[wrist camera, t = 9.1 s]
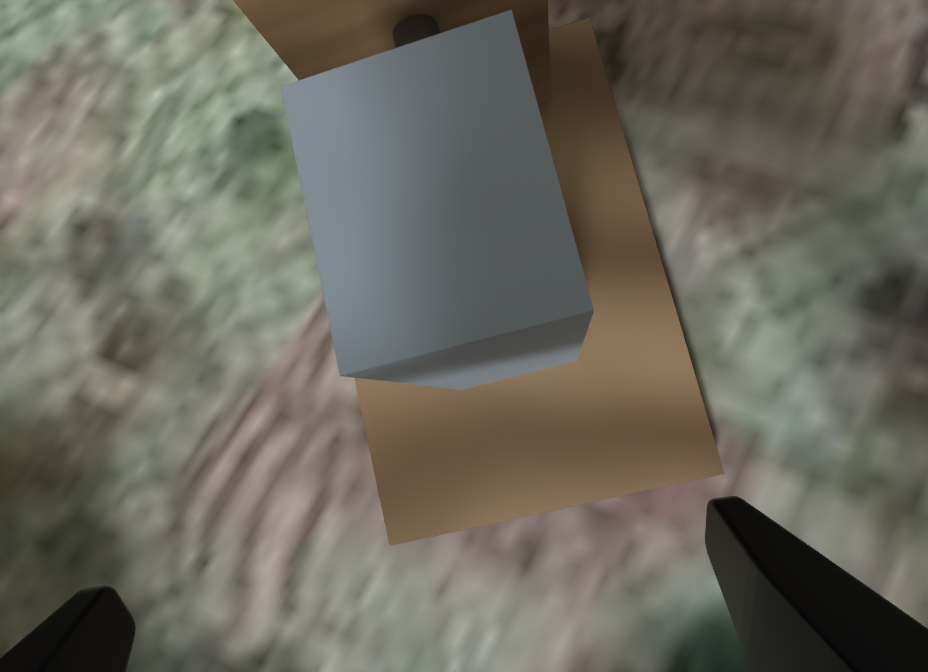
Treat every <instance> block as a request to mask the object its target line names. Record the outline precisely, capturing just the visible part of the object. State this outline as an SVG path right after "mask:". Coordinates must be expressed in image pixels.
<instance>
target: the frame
mask: <svg viewBox="0 0 928 672" xmlns="http://www.w3.org/2000/svg"><path fill="white" fill-rule="evenodd" d="M233 1H234V2H235V3H236V4H237V6H238V7H239V8H240V9H241V10H242V12H243V13H244V14H245V15H246V16H247V18H248V19H249V20H250V21H251V23H252V24H253V25H254V26H255V27H256V29H257V30H258V31H259V32H260V34H261V35H262V36H263V37H264V38H265V40H266V41H267V42H268V43H269V44H270V46H271V47H272V48H273V49H274V51H275V52H276V53H277V54H278V55H279V57H280V58H281V59H282V60H283V61H284V63H285V64H286V65H287V66H288V68H289V69H290V70H291V71H292V72H293V74H294V75H295V76H296V77H297V78H298V80H302V79H305V78H308V77H311V76H314V75H317V74H320V73H323V72H326V71H329V70H332V69H335V68H338V67H341V66H344V65H347V64H350V63H353V62H356V61H359V60H362V59H365V58H368V57H371V56H374V55H377V54H380V53H383V52H386V51H389V50H392V49H395V48H398V47H401V46H404V45H407V44H410V43H413V42H416V41H419V40H422V39H425V38H428V37H431V36H434V35H437V34H440V33H443V32H446V31H449V30H452V29H455V28H458V27H461V26H464V25H467V24H470V23H473V22H476V21H479V20H482V19H485V18H488V17H491V16H494V15H497V14H500V13H503V12H506V11H509V10H512V13H513V17H514V20H515V24H516V28H517V31H518V35H519V39H520V42H521V46H522V50H523V53H524V57H525V60H526V64H527V68H528V71H529V75H530V79H531V82H532V86H533V90H534V93H535V97H536V101H537V104H538V108H539V112H540V115H541V119H542V122H543V126H544V130H545V133H546V137H547V141H548V144H549V148H550V152H551V155H552V159H553V163H554V166H555V170H556V173H557V177H558V181H559V184H560V188H561V192H562V195H563V199H564V203H565V206H566V210H567V214H568V217H569V221H570V225H571V228H572V232H573V235H574V239H575V243H576V246H577V250H578V254H579V257H580V261H581V265H582V268H583V272H584V276H585V279H586V283H587V286H588V290H589V294H590V297H591V301H592V305H593V308H594V312H593V315H592V318H591V321H590V324H589V327H588V330H587V333H586V336H585V339H584V342H583V345H582V348H581V351H580V354H579V357H578V360H577V361H575V362H571V363H567V364H563V365H559V366H555V367H551V368H547V369H543V370H539V371H535V372H531V373H527V374H523V375H518V376H514V377H510V378H506V379H502V380H498V381H494V382H490V383H486V384H482V385H478V386H474V387H470V388H466V389H462V390H457V389H449V388H440V387H431V386H423V385H414V384H406V383H397V382H388V381H380V380H371V379H362V378H355V382H356V387H357V392H358V396H359V401H360V406H361V411H362V415H363V420H364V425H365V430H366V434H367V439H368V444H369V449H370V454H371V458H372V463H373V468H374V473H375V477H376V482H377V487H378V492H379V497H380V501H381V506H382V511H383V516H384V520H385V525H386V530H387V535H388V540H389V544H390V546H391V545H395V544H400V543H405V542H409V541H414V540H419V539H423V538H428V537H433V536H437V535H442V534H447V533H451V532H456V531H460V530H465V529H470V528H474V527H479V526H484V525H488V524H493V523H498V522H502V521H507V520H512V519H516V518H521V517H526V516H530V515H535V514H539V513H544V512H549V511H553V510H558V509H563V508H567V507H572V506H577V505H581V504H586V503H591V502H595V501H600V500H605V499H609V498H614V497H618V496H623V495H628V494H632V493H637V492H642V491H646V490H651V489H656V488H660V487H665V486H670V485H674V484H679V483H684V482H688V481H693V480H697V479H702V478H707V477H711V476H716V475H721V474H724V471H723V467H722V464H721V461H720V457H719V454H718V450H717V447H716V444H715V440H714V437H713V433H712V430H711V427H710V423H709V420H708V417H707V413H706V410H705V406H704V403H703V400H702V396H701V393H700V389H699V386H698V383H697V379H696V376H695V373H694V369H693V366H692V362H691V359H690V356H689V352H688V349H687V346H686V342H685V339H684V335H683V332H682V329H681V325H680V322H679V318H678V315H677V312H676V308H675V305H674V302H673V298H672V295H671V291H670V288H669V285H668V281H667V278H666V274H665V271H664V268H663V264H662V261H661V258H660V254H659V251H658V247H657V244H656V241H655V237H654V234H653V231H652V227H651V224H650V220H649V217H648V214H647V210H646V207H645V203H644V200H643V197H642V193H641V190H640V187H639V183H638V180H637V176H636V173H635V170H634V166H633V163H632V159H631V156H630V153H629V149H628V146H627V143H626V139H625V136H624V132H623V129H622V126H621V122H620V119H619V116H618V112H617V109H616V105H615V102H614V99H613V95H612V92H611V88H610V85H609V82H608V78H607V75H606V72H605V68H604V65H603V61H602V58H601V55H600V51H599V48H598V45H597V41H596V38H595V34H594V31H593V28H592V24H591V21H590V17H589V18H585V19H582V20H579V21H576V22H573V23H570V24H567V25H564V26H561V27H558V28H555V29H552V30H549V27H548V3H547V0H233Z"/></svg>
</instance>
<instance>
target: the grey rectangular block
mask: <svg viewBox="0 0 928 672" xmlns="http://www.w3.org/2000/svg"><path fill="white" fill-rule="evenodd" d="M281 91H282V96H283V101H284V106H285V110H286V115H287V120H288V125H289V130H290V135H291V140H292V144H293V149H294V154H295V159H296V164H297V169H298V174H299V178H300V183H301V188H302V193H303V198H304V203H305V208H306V212H307V217H308V222H309V227H310V232H311V237H312V242H313V247H314V251H315V256H316V261H317V266H318V271H319V276H320V281H321V285H322V290H323V295H324V300H325V305H326V310H327V315H328V319H329V324H330V329H331V334H332V339H333V344H334V349H335V353H336V358H337V363H338V368H339V373H340V376H345V377H354V378H362V379H371V380H380V381H388V382H397V383H406V384H414V385H423V386H431V387H440V388H449V389H457V390H462V389H466V388H470V387H474V386H478V385H482V384H486V383H490V382H494V381H498V380H502V379H506V378H510V377H514V376H518V375H523V374H527V373H531V372H535V371H539V370H543V369H547V368H551V367H555V366H559V365H563V364H567V363H571V362H575V361H577V360H578V357H579V354H580V351H581V348H582V345H583V342H584V339H585V336H586V333H587V330H588V327H589V324H590V321H591V318H592V315H593V312H594V308H593V305H592V301H591V297H590V294H589V290H588V286H587V283H586V279H585V276H584V272H583V268H582V265H581V261H580V257H579V254H578V250H577V246H576V243H575V239H574V235H573V232H572V228H571V225H570V221H569V217H568V214H567V210H566V206H565V203H564V199H563V195H562V192H561V188H560V184H559V181H558V177H557V173H556V170H555V166H554V163H553V159H552V155H551V152H550V148H549V144H548V141H547V137H546V133H545V130H544V126H543V122H542V119H541V115H540V112H539V108H538V104H537V101H536V97H535V93H534V90H533V86H532V82H531V79H530V75H529V71H528V68H527V64H526V60H525V57H524V53H523V50H522V46H521V42H520V39H519V35H518V31H517V28H516V24H515V20H514V17H513V13H512V10H509V11H506V12H503V13H500V14H497V15H494V16H491V17H488V18H485V19H482V20H479V21H476V22H473V23H470V24H467V25H464V26H461V27H458V28H455V29H452V30H449V31H446V32H443V33H440V34H437V35H434V36H431V37H428V38H425V39H422V40H419V41H416V42H413V43H410V44H407V45H404V46H401V47H398V48H395V49H392V50H389V51H386V52H383V53H380V54H377V55H374V56H371V57H368V58H365V59H362V60H359V61H356V62H353V63H350V64H347V65H344V66H341V67H338V68H335V69H332V70H329V71H326V72H323V73H320V74H317V75H314V76H311V77H308V78H305V79H302V80H299V81H296V82H293V83H290V84H287V85H284V86H281Z"/></svg>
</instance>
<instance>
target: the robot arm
mask: <svg viewBox="0 0 928 672" xmlns="http://www.w3.org/2000/svg"><path fill="white" fill-rule="evenodd" d="M705 544H706V549H707V553H708V556H709V559H710V561H711V564H712V567H713V569H714V572H715V575H716V577H717V580H718V583H719V586H720V588H721V591H722V594H723V596H724V599H725V602H726V604H727V607H728V610H729V612H730V615H731V618H732V620H733V623H734V626H735V629H736V631H737V634H738V637H739V639H740V642H741V644H742V647H743V649H744V652H745V655H746V657H747V659H748V661H749V664H750V666H751V668H752V670H753V672H928V628H926V627H925V626H923V625H922V624H920V623H919V622H918V621H916V620H915V619H913V618H912V617H910V616H909V615H908V614H906V613H905V612H903V611H902V610H900V609H899V608H898V607H896V606H895V605H893V604H892V603H890V602H889V601H887V600H886V599H885V598H883V597H882V596H880V595H879V594H877V593H876V592H875V591H873V590H872V589H870V588H869V587H867V586H866V585H865V584H863V583H862V582H860V581H859V580H857V579H856V578H855V577H853V576H852V575H850V574H849V573H847V572H846V571H845V570H843V569H842V568H840V567H839V566H837V565H836V564H835V563H833V562H832V561H830V560H829V559H827V558H826V557H825V556H823V555H822V554H820V553H819V552H817V551H816V550H815V549H813V548H812V547H810V546H809V545H807V544H806V543H805V542H803V541H802V540H800V539H799V538H797V537H796V536H795V535H793V534H792V533H790V532H789V531H787V530H786V529H785V528H783V527H782V526H780V525H779V524H777V523H776V522H775V521H773V520H772V519H770V518H769V517H767V516H766V515H765V514H763V513H762V512H760V511H759V510H757V509H756V508H755V507H753V506H752V505H750V504H749V503H747V502H746V501H745V500H743V499H741V498H739V497H737V496H730V497H723V498H716V499H712V500H710V501H709V502H708V505H707V514H706V530H705ZM134 637H135V622H134V618H133V616H132V615H131V613H130V612H129V610H128V609H127V607H126V606H125V604H124V602H123V601H122V599H121V598H120V596H119V595H118V593H117V592H116V590H115V589H114V588H112V587H110V586H100V587H93V588H87V589H83V590H81V591H79V592H78V593H76V594H75V595H74V596H73V597H71V598H70V599H69V600H68V601H67V602H66V603H64V604H63V605H62V606H61V607H60V608H59V609H57V610H56V611H55V612H54V613H53V614H52V615H50V616H49V617H48V618H47V619H46V620H45V621H43V622H42V623H41V624H40V625H39V626H38V627H36V628H35V629H34V630H33V631H32V632H31V633H29V634H28V635H27V636H26V637H25V638H24V639H22V640H21V641H20V642H19V643H18V644H17V645H15V646H14V647H13V648H12V649H11V650H9V651H8V652H7V653H6V654H5V655H4V656H2V657H1V658H0V672H126V668H127V664H128V660H129V657H130V653H131V649H132V645H133V641H134Z"/></svg>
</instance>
